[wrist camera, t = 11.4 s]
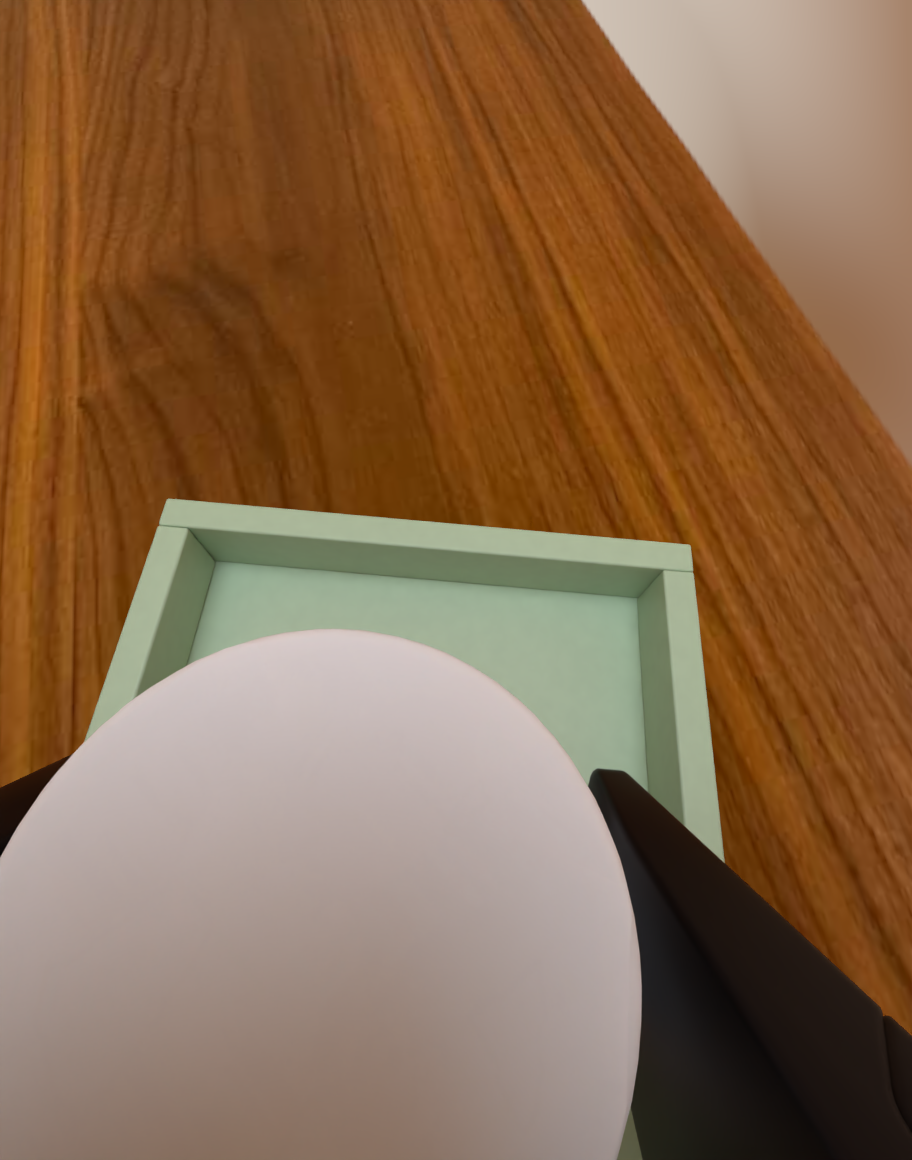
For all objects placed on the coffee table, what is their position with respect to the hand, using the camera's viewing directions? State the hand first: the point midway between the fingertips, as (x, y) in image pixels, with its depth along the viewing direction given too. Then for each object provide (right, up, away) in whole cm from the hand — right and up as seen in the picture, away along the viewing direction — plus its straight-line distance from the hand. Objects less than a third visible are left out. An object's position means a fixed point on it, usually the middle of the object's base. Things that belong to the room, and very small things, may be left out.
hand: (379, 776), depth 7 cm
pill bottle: (0, -4, +6) cm, 7 cm away
